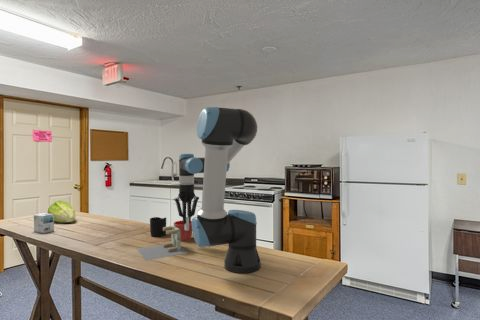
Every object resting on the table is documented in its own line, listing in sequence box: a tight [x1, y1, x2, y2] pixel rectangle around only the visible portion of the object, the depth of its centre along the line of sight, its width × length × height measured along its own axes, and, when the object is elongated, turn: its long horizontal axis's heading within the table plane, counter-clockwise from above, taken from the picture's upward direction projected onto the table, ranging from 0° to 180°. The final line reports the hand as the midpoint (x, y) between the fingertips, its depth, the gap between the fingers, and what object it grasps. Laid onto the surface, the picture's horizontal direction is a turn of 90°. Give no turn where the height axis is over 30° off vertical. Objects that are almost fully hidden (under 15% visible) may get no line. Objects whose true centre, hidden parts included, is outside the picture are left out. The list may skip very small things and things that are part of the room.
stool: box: [162, 225, 182, 252], centre depth 147 cm, size 10×6×10 cm, turn 29°
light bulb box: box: [33, 212, 55, 234], centre depth 185 cm, size 11×7×11 cm, turn 63°
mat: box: [136, 244, 189, 261], centre depth 144 cm, size 20×20×1 cm
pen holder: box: [149, 216, 167, 238], centre depth 175 cm, size 9×9×10 cm
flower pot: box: [173, 220, 193, 242], centre depth 165 cm, size 11×11×10 cm
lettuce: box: [47, 200, 76, 224], centre depth 214 cm, size 15×24×16 cm
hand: (186, 229), depth 151 cm, fingers closed
